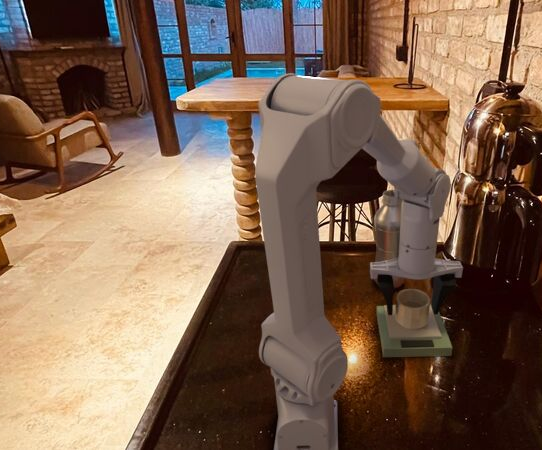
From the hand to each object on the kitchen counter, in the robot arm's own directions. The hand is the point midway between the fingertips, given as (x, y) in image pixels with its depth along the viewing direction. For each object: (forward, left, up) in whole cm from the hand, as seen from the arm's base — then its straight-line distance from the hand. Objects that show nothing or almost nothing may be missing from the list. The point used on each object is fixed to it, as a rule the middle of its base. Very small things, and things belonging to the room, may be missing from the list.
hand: (412, 311), depth 69 cm
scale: (-1, 0, -4) cm, 4 cm away
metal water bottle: (+14, +2, -4) cm, 15 cm away
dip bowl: (0, 0, -2) cm, 2 cm away
